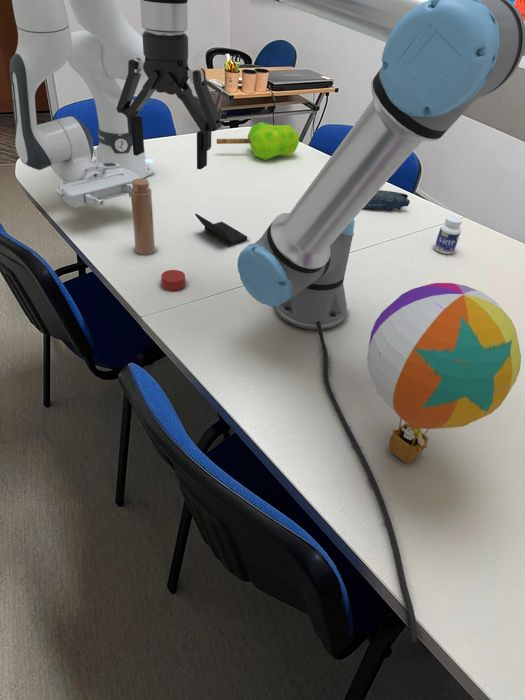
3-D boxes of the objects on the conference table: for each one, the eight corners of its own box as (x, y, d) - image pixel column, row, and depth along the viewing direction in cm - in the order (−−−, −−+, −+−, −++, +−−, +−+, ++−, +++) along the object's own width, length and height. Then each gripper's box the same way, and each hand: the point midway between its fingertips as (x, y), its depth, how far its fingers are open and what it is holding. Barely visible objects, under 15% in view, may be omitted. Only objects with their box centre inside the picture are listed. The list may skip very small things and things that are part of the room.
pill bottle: (433, 251, 139) (442, 220, 133) (435, 243, 143) (444, 213, 137) (453, 256, 138) (464, 225, 132) (454, 247, 142) (465, 217, 136)
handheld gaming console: (252, 231, 136) (235, 208, 128) (239, 253, 135) (221, 232, 127) (220, 222, 143) (201, 200, 134) (207, 244, 141) (188, 223, 133)
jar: (134, 254, 126) (128, 184, 115) (137, 245, 130) (131, 177, 119) (153, 255, 127) (149, 186, 116) (156, 246, 130) (151, 178, 119)
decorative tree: (213, 119, 187) (294, 118, 192) (214, 148, 193) (292, 147, 198) (219, 133, 173) (306, 132, 178) (220, 165, 179) (303, 163, 185)
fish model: (408, 214, 157) (412, 198, 153) (339, 207, 158) (341, 191, 154) (406, 206, 162) (410, 190, 159) (339, 199, 163) (341, 183, 160)
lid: (180, 292, 115) (180, 283, 113) (158, 288, 115) (157, 279, 114) (188, 280, 119) (188, 271, 117) (166, 276, 119) (166, 268, 118)
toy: (317, 443, 83) (351, 282, 64) (393, 393, 94) (441, 242, 75) (417, 530, 72) (494, 366, 53) (490, 462, 83) (575, 305, 64)
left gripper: (50, 177, 129) (77, 197, 121) (122, 161, 140) (151, 178, 133) (55, 201, 133) (81, 221, 125) (125, 184, 144) (153, 201, 137)
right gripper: (243, 39, 86) (237, 167, 99) (113, 19, 92) (124, 142, 105) (224, 44, 80) (221, 179, 94) (87, 23, 86) (102, 153, 100)
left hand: (118, 199), depth 129 cm, fingers open, 8 cm apart
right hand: (169, 160), depth 99 cm, fingers open, 13 cm apart
